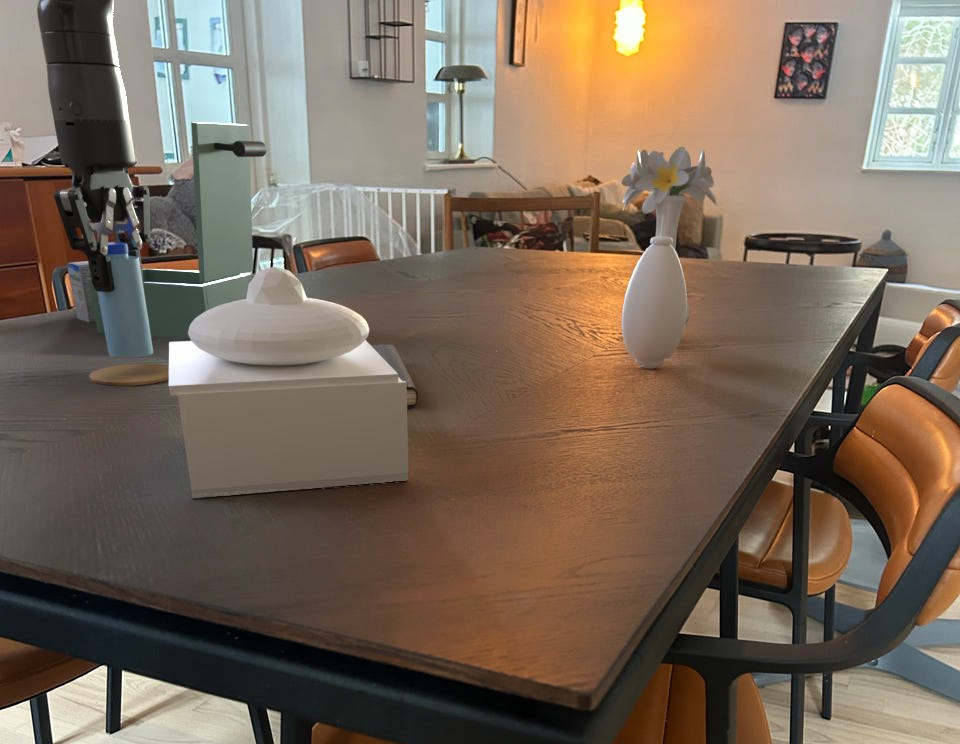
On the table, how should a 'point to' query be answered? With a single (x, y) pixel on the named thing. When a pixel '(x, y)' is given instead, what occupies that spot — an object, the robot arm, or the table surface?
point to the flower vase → (668, 187)
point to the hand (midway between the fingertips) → (119, 287)
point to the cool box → (179, 299)
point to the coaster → (131, 374)
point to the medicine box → (81, 290)
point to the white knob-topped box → (286, 394)
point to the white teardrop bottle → (655, 304)
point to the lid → (223, 198)
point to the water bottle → (125, 307)
